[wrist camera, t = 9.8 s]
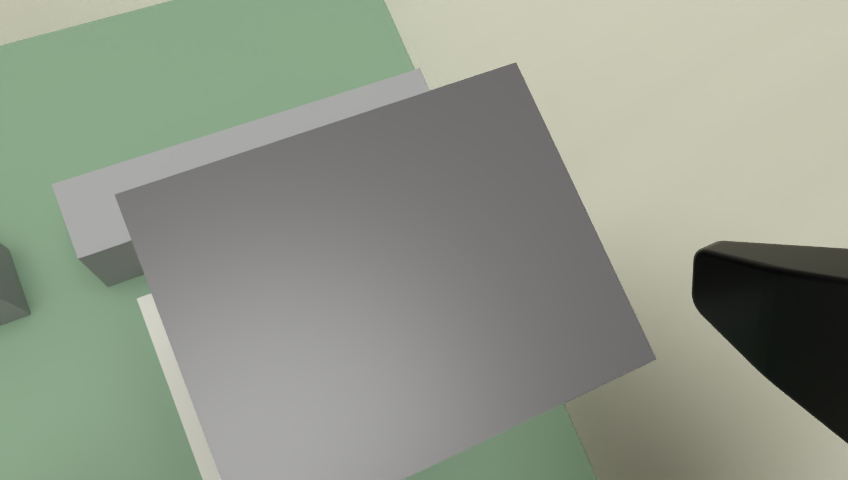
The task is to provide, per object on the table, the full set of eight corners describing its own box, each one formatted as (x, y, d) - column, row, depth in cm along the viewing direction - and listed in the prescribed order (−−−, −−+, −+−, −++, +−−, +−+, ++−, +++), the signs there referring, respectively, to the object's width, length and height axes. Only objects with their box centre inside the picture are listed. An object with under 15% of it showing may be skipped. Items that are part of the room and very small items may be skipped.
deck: (626, 584, 20) (718, 622, 16) (58, 901, 16) (-12, 1058, 12) (356, -25, 22) (376, -125, 18) (-183, 122, 19) (-307, 36, 15)
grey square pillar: (457, 398, 19) (655, 358, 9) (258, 488, 17) (248, 552, 8) (392, 247, 19) (515, 62, 10) (195, 323, 18) (114, 194, 8)
